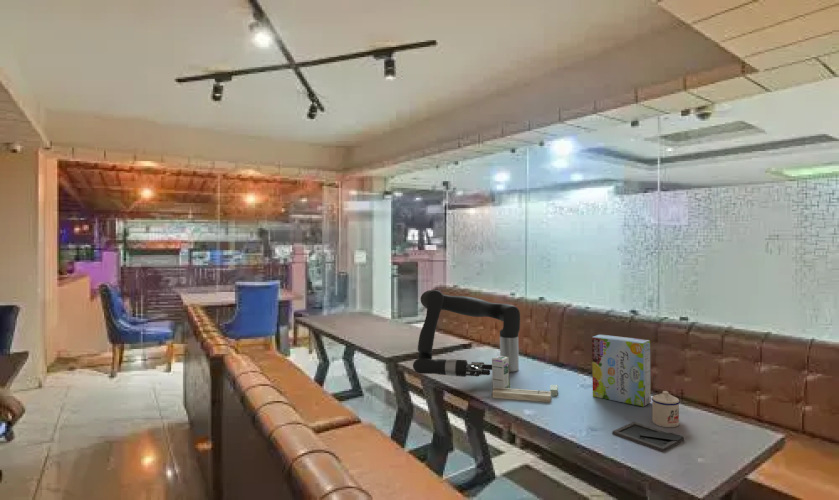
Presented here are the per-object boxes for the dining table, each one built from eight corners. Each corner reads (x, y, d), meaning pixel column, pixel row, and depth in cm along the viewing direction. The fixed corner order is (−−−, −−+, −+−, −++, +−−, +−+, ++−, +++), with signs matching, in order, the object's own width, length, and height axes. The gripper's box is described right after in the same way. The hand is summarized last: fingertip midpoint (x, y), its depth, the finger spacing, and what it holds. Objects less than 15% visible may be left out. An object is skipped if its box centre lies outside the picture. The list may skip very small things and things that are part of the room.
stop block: (550, 390, 223) (550, 384, 223) (557, 390, 222) (557, 385, 222) (550, 395, 216) (550, 389, 216) (557, 395, 215) (557, 390, 215)
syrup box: (503, 392, 222) (503, 359, 221) (492, 389, 225) (491, 357, 225) (509, 388, 226) (509, 356, 226) (498, 386, 230) (497, 355, 229)
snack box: (651, 402, 205) (651, 339, 204) (644, 408, 199) (644, 343, 198) (599, 391, 220) (599, 333, 219) (591, 396, 213) (590, 336, 212)
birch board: (494, 393, 221) (494, 387, 220) (551, 397, 214) (551, 391, 213) (492, 397, 215) (492, 391, 215) (550, 402, 208) (550, 395, 208)
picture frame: (683, 442, 168) (633, 426, 183) (683, 436, 168) (633, 420, 183) (663, 453, 160) (612, 435, 175) (663, 447, 160) (612, 429, 175)
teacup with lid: (671, 430, 177) (671, 397, 176) (646, 422, 184) (646, 391, 184) (688, 421, 184) (688, 390, 184) (663, 414, 191) (663, 384, 191)
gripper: (452, 363, 224) (488, 365, 220) (459, 355, 238) (493, 357, 233) (453, 380, 225) (489, 382, 220) (459, 371, 238) (494, 373, 234)
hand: (491, 369), depth 227 cm, fingers open, 8 cm apart
